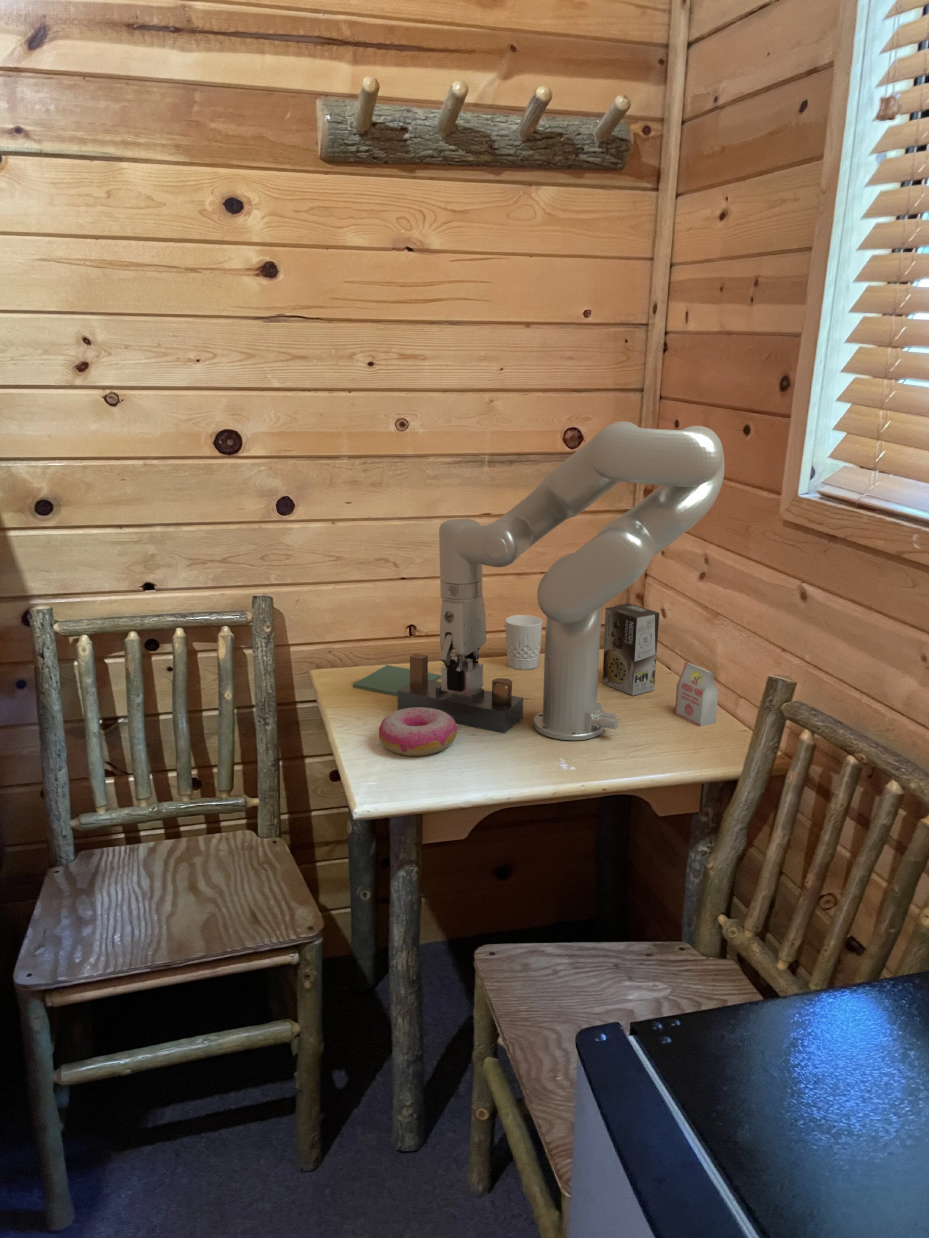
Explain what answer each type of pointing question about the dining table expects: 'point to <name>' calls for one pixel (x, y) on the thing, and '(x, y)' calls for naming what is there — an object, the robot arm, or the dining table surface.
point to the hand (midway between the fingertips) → (462, 684)
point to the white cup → (523, 641)
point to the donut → (417, 731)
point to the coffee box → (630, 648)
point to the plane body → (462, 700)
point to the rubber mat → (389, 680)
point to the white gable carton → (696, 695)
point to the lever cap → (466, 677)
